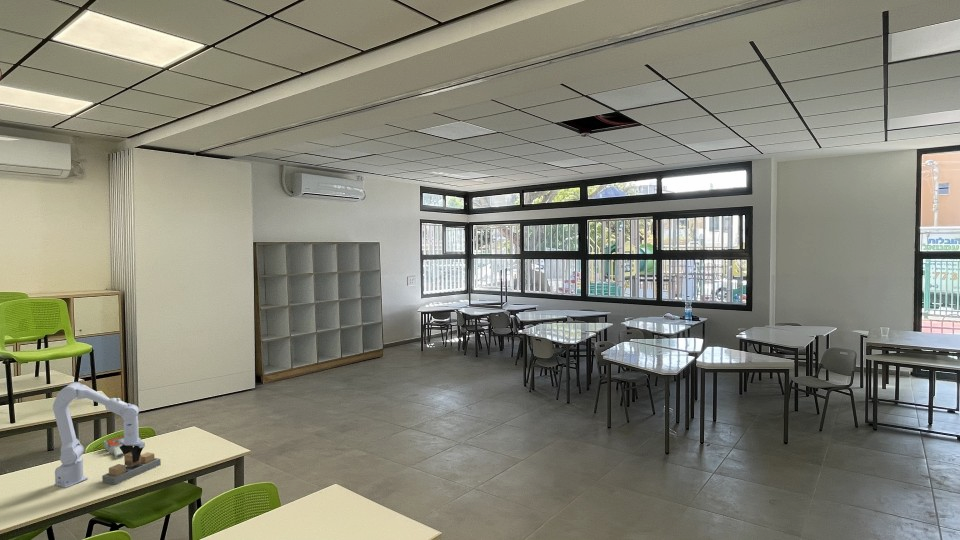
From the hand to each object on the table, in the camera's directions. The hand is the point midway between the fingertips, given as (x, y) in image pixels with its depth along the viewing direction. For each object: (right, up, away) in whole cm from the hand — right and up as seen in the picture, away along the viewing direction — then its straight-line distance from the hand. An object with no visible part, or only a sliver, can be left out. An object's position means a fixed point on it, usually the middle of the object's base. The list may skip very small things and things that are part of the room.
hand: (132, 460), depth 239 cm
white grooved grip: (-25, -5, +26) cm, 36 cm away
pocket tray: (0, -6, 0) cm, 6 cm away
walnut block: (0, -2, 0) cm, 2 cm away
